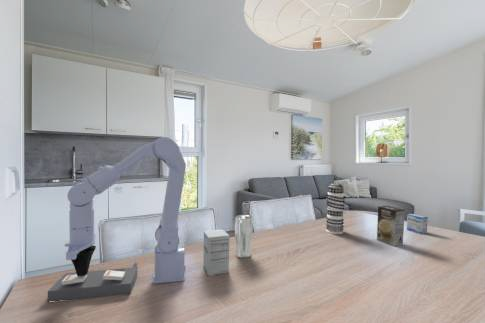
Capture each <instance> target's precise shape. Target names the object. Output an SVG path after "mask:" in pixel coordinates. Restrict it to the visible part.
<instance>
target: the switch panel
mask: <svg viewBox="0 0 485 323" xmlns="http://www.w3.org/2000/svg"><path fill="white" fill-rule="evenodd" d="M137 265H138V263H137V262H135V263H133V266H132V267H124V268H123V267H122V268H112V269H111V268H110V269H100V270H99V269H98V270H88V273H87V277H86V278H85V280H84V281H83V282H79V283H72V284H66V285H62V280H63V279H64V278H65V277H66V276H68V275H75V274H77V273H76V271H73V272H65V273H64V274H63V276H61V277H60V279H58V280H57V282H55V283H54V284H53V286H52V287H51V288H49V289H48V290H47V302H48V301H59V302H61V301H60V300H69V301H75V299H76V300H86V299H95V298H103V297H105V298H106V297H113V296H123V295H124V296H125V295H131V294H132V292H133V289H134V287H135V283H136V282H137V278H138V267H137ZM107 270H111V271H124V272H125V275H124V277H123V279H122V280H108V279H103V275H104V274H105V272H106V271H107Z"/></svg>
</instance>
